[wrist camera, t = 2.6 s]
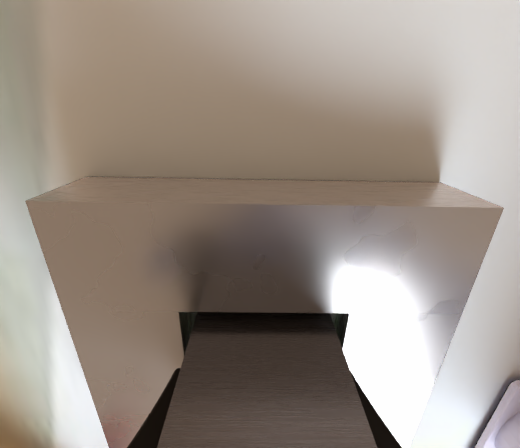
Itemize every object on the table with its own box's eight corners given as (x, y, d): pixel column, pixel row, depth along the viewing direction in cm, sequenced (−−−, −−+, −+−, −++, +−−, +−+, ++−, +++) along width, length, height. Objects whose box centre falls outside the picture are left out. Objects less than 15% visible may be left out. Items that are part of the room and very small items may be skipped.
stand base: (440, 182, 11) (598, 245, 6) (375, 410, 16) (427, 542, 11) (86, 176, 11) (-67, 237, 6) (141, 409, 16) (89, 543, 11)
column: (316, 276, 12) (390, 484, 6) (307, 355, 14) (352, 581, 8) (208, 275, 12) (146, 484, 5) (213, 354, 14) (172, 582, 7)
